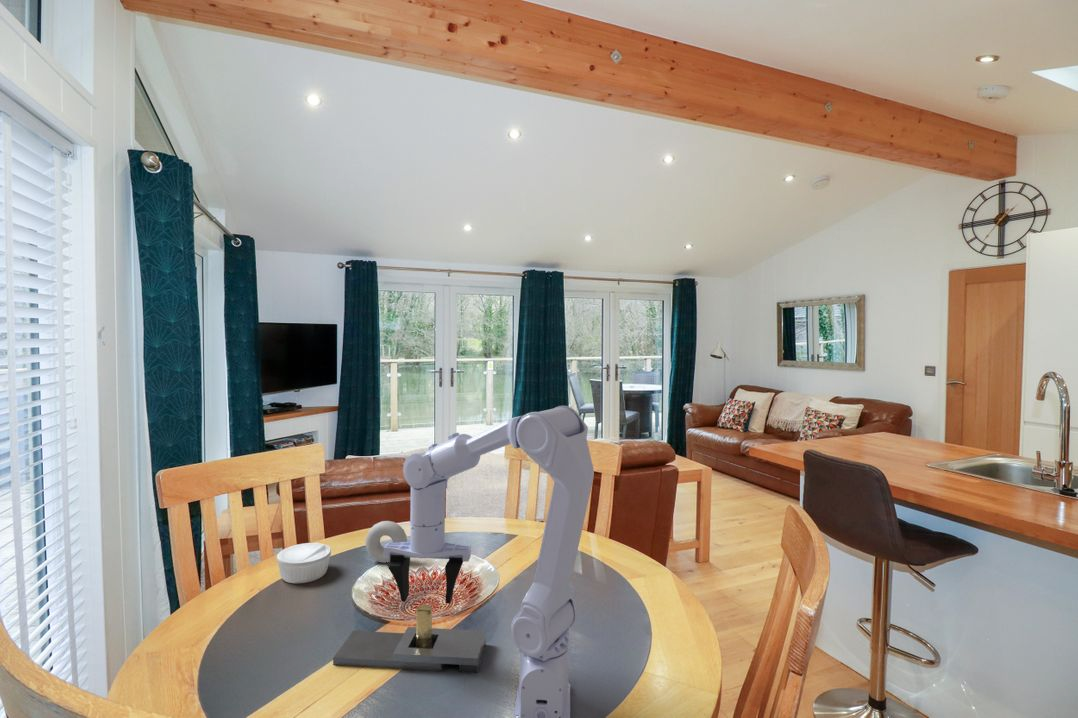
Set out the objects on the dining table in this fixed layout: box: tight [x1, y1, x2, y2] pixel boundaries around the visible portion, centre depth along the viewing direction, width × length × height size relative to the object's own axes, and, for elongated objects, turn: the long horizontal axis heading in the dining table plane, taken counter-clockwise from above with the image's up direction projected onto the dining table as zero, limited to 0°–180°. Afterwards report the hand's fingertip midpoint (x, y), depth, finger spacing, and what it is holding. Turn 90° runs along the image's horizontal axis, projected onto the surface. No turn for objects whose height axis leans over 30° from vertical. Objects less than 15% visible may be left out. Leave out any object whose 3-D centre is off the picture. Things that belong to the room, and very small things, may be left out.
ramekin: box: [276, 542, 332, 584], centre depth 119 cm, size 11×11×5 cm
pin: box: [415, 604, 433, 649], centre depth 90 cm, size 3×3×8 cm
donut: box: [365, 520, 408, 564], centre depth 126 cm, size 10×4×10 cm, turn 87°
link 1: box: [332, 630, 444, 672], centre depth 90 cm, size 8×18×1 cm, turn 86°
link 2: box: [393, 626, 487, 674], centre depth 90 cm, size 8×14×2 cm, turn 86°
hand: (427, 599), depth 90 cm, fingers open, 7 cm apart
